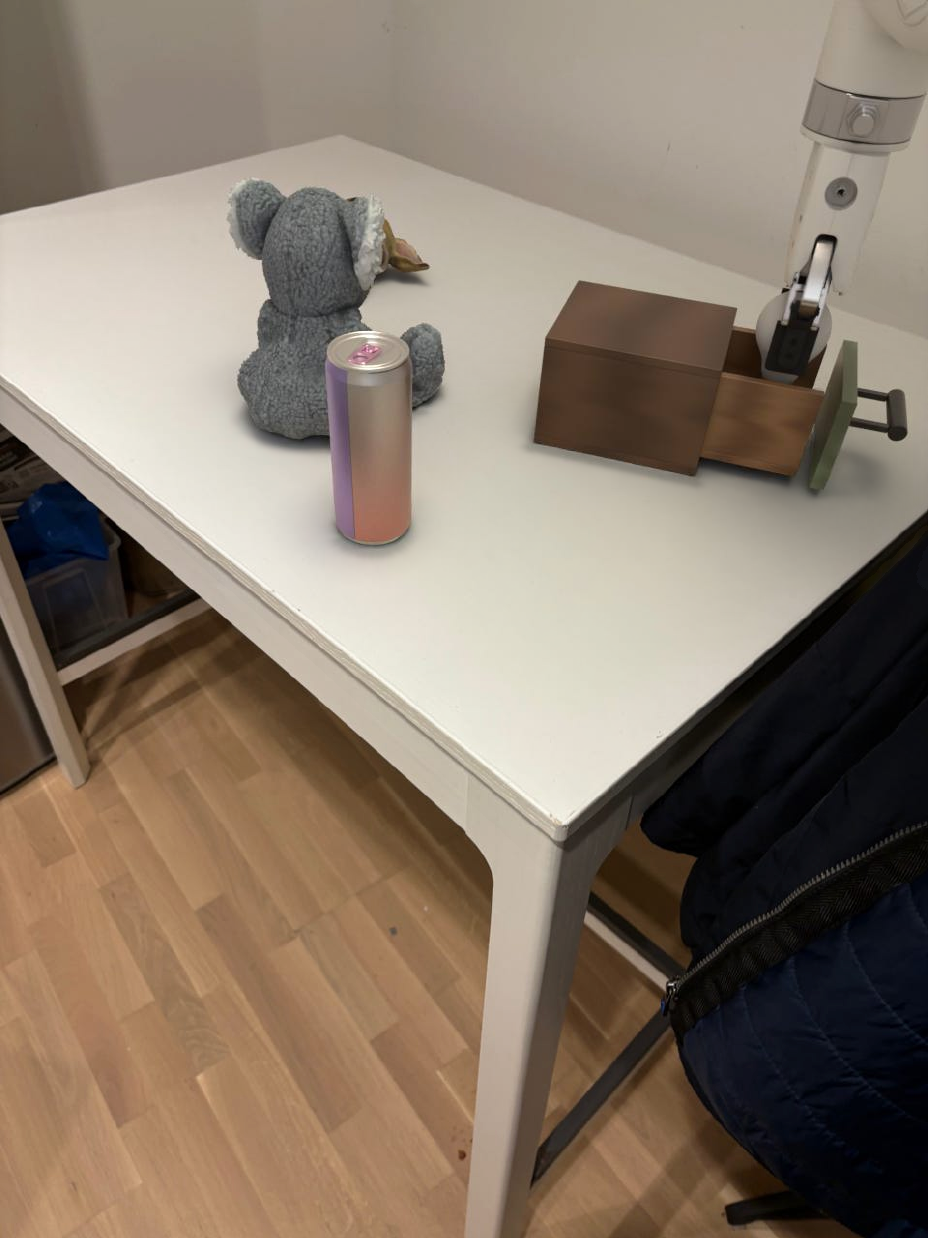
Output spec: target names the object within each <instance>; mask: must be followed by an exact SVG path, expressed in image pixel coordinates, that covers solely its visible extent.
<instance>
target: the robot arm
mask: <svg viewBox="0 0 928 1238" xmlns="http://www.w3.org/2000/svg"><path fill="white" fill-rule="evenodd" d="M830 13H831V14H830V17H829V21H828V25H827V27H826V32H825V36H824V40H823V43H822V46H821V51H820V54H819V58H818V61H817V65H816V69H815V72H814V77H813V80H812V83H811V88H810V91H809V95H808V99H807V103H806V106H805V109H804V113H803V117H802V121H801V122H800V123H801V124H800V127H799V132H800V134H801V135H803V137H805V138H807V139H808V140H810V141H812V142H813V144H812V147H811V151H810V155H809V158H808V162H807V165H806V169H805V173H804V176H803V181H802V184H801V187H800V192H799V195H798V199H797V202H796V203H797V204H796V208H795V211H794V216H793V221H792V225H791V230H790V234H789V240H788V247H787V254H786V262H785V271H784V279H783V280H784V282H785V287H782V288H781V292H780V294H782V293H784V292H788V291H789V294H788V298H787V302H786V305H785V309H784V312H783V316H782V320H778V321H777V324H776V327H775V331H774V334H773V337H772V341H771V344H770V348H769V351H768V354H767V358H766V361H765V369H766V370H769V371H774V372H780V373H785V374H790V375H796V376H802V375H804V374H805V371H806V368H807V365H808V362H809V359H810V356H811V353H812V350H813V347H814V344H815V341H816V338H817V335H818V332H819V327H818V325H819V322H820V319H821V315H822V312H823V309H824V305H825V303H826V302H827V298H828V295H829V293H830V288H831V285H832V292H834V293H838V296H839V297H843V296H846V295H847V294H848V293H850V292H851V288H852V285H853V282H854V279H855V275H856V271H857V269H858V265H859V262H860V258H861V255H862V252H863V249H864V246H865V243H866V240H867V236H868V234H869V231H870V228H871V224H872V221H873V218H874V215H875V213H876V209H877V205H878V203H879V198H880V195H881V191H882V188H883V185H884V181H885V178H886V173H887V170H888V166H889V162H890V158H891V153H896V152H902V151H904V150H906V149H907V148H909V145H910V143H911V140H912V136H913V134H914V131H915V128H916V126H917V122H918V120H919V117H920V115H921V111H922V109H923V106H924V103H925V100H926V97H927V94H928V0H834V2H833V6H832V10H831V12H830ZM797 292H800V293H802V296H801V299H800V300H796V302H795V304H794V301H795V298H796V294H797Z"/></svg>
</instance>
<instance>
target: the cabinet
mask: <svg viewBox="0 0 928 1238" xmlns="http://www.w3.org/2000/svg"><path fill="white" fill-rule="evenodd" d="M737 313H738V307H734V306H729V305H723V304H717V303H713V302H712V303H711V302H705V301H700V300H694V299H688V298H685V297H684V298H683V297H678V296H671V295H666V294H661V293H656V292H655V293H654V292H648V291H644V290H638V289H632V288H626V287H621V286H620V287H619V286H615V285H610V284H604V283H603V284H602V283H597V282H591V281H586V280H580V279H578V281H577V282H576V284H575V285H574V288H573V289H572V291H571V293H570V294H569V296H568V298H567V299H566V301H565V303H564V305H563V307H562V308H561V310H560V311H559V313H558V315H557V317H556V318H555V320H554V322H553V323H552V325H551V327H550V328H549V330H548V332H547V334H546V336H545V337H544V347H543V353H542V363H541V373H540V379H539V380H540V381H539V388H538V389H539V390H538V397H537V407H536V417H535V423H534V424H535V425H534V431H533V433H534V434H533V443H537V444H540V445H541V444H542V445H546V446H551V447H556V448H561V449H565V450H568V451H569V450H570V451H575V452H579V453H583V454H589V455H594V456H597V457H603V458H607V459H611V460H617V461H622V462H627V463H631V464H635V465H640V466H645V467H649V468H654V469H659V470H663V471H669V472H673V473H677V474H682V475H688V476H692V477H695V476H696V471H697V468H698V465H699V461H700V458H701V457H700V453H701V450H702V446H703V442H704V438H705V435H706V431H707V427H708V423H709V419H710V416H711V412H712V408H713V404H714V401H715V397H716V393H717V389H718V386H719V382H720V378H721V374H722V370H723V366H724V362H725V358H726V354H727V350H728V345H729V341H730V337H731V333H732V329H733V326H735V325H734V323H735V320H736V316H737Z"/></svg>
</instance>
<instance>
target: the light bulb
mask: <svg viewBox="0 0 928 1238" xmlns="http://www.w3.org/2000/svg"><path fill="white" fill-rule="evenodd" d="M788 294H789V291H788V292H784V293H782V294H781V293H780V294H778V295H776V296H775V297H773V298H772V299H771V300H770V301H768V302H767V303H766V304H765V306H764V307H763V309H762V310H761V312H760V313H759V316H758V318H757V321H756V325H755V330H756V340H757V344H758V347H759V350H760V353H761V358H762V364H761V372H762V375H761V379H762V380H768V381H773V382H778V383H784V384H789V385H793V384H794V381H795V380H796V379H797V378H798V376H796V375H790V374H785V373H780V372H774V371H769V370H766V369H765V361H766V358H767V354H768V351H769V348H770V344H771V341H772V337H773V334H774V331H775V327H776V324H777V321H778V320H782V316H783V312H784V309H785V305H786V302H787V298H788ZM801 296H802V293H800V292H797V294H796V298H795V301H794V304H795V302H796V300H800V299H801ZM818 327H819V332H818V335H817V338H816V341H815V344H814V347H813V350H812V353H811V356H810V359H809V362H810V361H811V360H812V359H814V358H815V357H816V356H817V355H818V354H819V353H820V352H821V351H822V350H823V349H824V347H825V346H826V344H827V345H828V342H829V340H830V338H831V334H832V329H833V318H832V314H831V311H830V308H829V306H828V305H827V303H826V302H825V305H824V309H823V312H822V315H821V319H820V322H819V325H818ZM809 362H808V363H809Z"/></svg>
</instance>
